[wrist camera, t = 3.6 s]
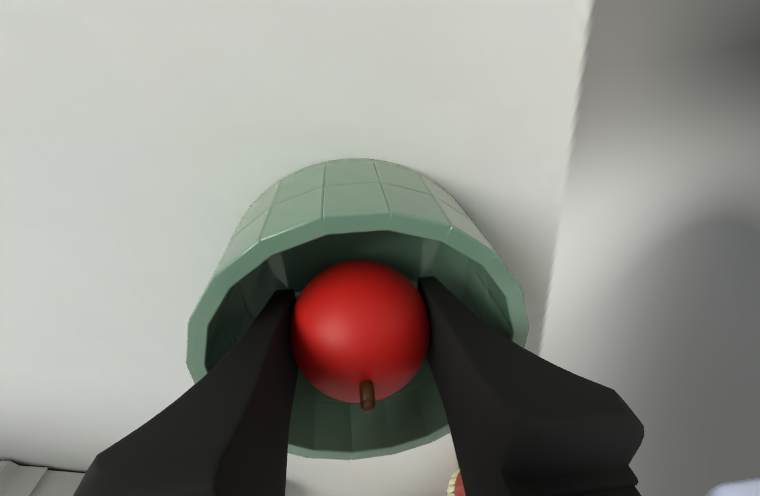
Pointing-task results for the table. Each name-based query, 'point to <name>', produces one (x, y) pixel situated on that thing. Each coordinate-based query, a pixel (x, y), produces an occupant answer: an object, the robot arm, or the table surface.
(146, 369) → the table surface
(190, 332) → the bowl
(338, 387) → the apple
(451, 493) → the dentures model
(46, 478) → the toy gun
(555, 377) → the robot arm
